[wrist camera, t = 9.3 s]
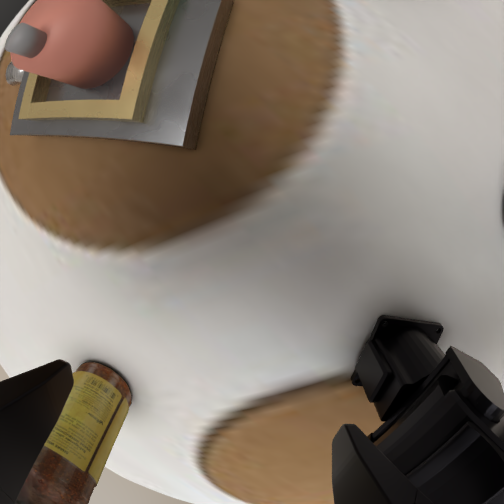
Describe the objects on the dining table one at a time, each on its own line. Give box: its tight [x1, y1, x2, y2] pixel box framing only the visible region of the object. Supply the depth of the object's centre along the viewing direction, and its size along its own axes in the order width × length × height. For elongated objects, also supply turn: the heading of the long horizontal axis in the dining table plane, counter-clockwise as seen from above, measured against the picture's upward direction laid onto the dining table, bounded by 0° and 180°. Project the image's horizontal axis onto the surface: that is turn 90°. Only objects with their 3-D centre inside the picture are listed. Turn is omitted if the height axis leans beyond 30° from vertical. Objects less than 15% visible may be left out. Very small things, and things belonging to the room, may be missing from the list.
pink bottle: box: [5, 0, 134, 89], centre depth 9 cm, size 5×5×7 cm
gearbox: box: [6, 0, 233, 149], centre depth 13 cm, size 17×11×4 cm, turn 78°
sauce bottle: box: [15, 362, 131, 504], centre depth 13 cm, size 6×6×20 cm
